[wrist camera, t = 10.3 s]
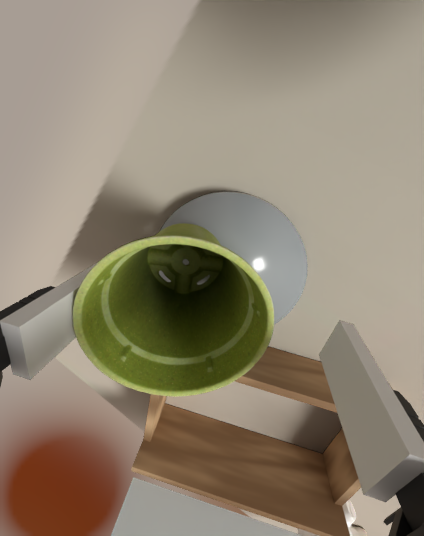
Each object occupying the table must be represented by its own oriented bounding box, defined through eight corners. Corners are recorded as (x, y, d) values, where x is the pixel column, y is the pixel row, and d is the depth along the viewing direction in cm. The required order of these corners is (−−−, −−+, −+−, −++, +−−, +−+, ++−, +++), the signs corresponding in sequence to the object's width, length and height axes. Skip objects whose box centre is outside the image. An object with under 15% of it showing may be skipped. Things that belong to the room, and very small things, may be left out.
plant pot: (100, 252, 18) (26, 327, 10) (190, 170, 16) (183, 185, 8) (181, 322, 21) (172, 417, 14) (264, 263, 19) (310, 337, 11)
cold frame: (174, 318, 23) (144, 374, 17) (387, 381, 22) (442, 467, 16) (158, 405, 29) (131, 470, 23) (326, 459, 28) (347, 545, 21)
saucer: (167, 173, 18) (162, 173, 17) (332, 214, 17) (336, 217, 16) (150, 307, 23) (145, 313, 22) (274, 344, 22) (275, 351, 22)
